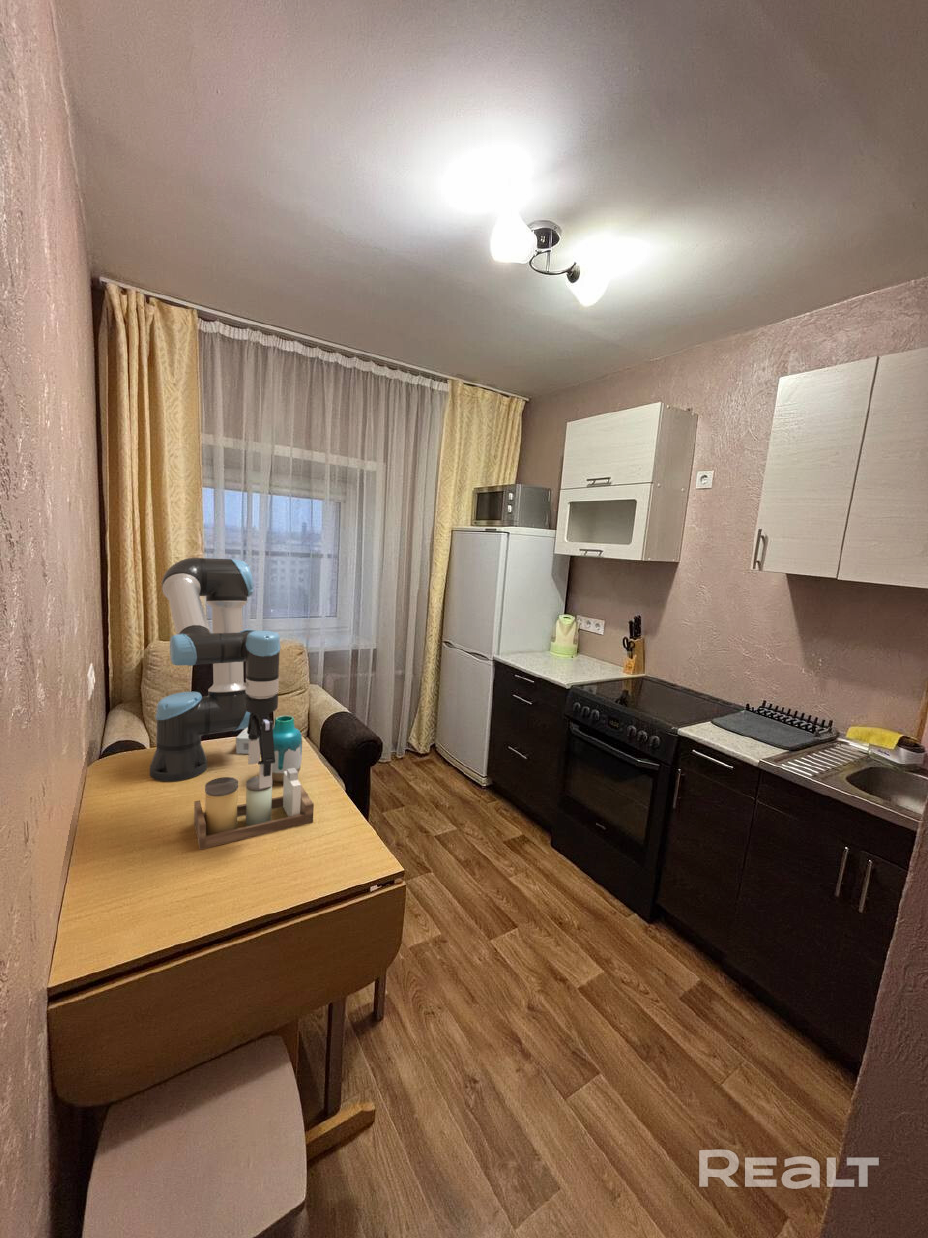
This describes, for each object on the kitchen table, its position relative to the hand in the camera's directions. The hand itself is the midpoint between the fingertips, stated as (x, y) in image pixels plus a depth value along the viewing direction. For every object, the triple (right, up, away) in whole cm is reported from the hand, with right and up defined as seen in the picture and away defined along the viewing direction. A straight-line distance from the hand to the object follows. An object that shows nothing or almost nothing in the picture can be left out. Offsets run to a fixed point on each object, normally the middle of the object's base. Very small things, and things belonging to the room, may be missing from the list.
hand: (259, 774), depth 124 cm
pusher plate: (+6, -12, +6) cm, 15 cm away
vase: (-3, -9, +25) cm, 27 cm away
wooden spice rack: (-1, -13, +1) cm, 13 cm away
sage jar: (-1, -13, +1) cm, 13 cm away
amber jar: (-8, -13, -4) cm, 15 cm away
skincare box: (-20, -3, +38) cm, 43 cm away
